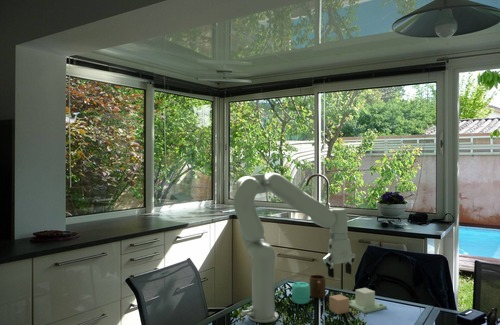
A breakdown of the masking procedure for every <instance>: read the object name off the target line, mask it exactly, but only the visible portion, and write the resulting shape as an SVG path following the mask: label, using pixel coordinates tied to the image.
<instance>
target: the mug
mask: <svg viewBox="0 0 500 325" xmlns="http://www.w3.org/2000/svg"><path fill="white" fill-rule="evenodd" d="M309 286H310V298H313V299H323V298H326V277H325V276H324V275H321V274H312V275H310V276H309Z"/></svg>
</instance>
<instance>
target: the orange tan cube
mask: <svg viewBox="0 0 500 325" xmlns="http://www.w3.org/2000/svg"><path fill="white" fill-rule="evenodd" d="M349 300H350V298H349V297H346V296H345V295H344V294H343V295H342V294H336V295H335V294H334V295H329V301H328V302H329V311H331V312H333V313H335V314H336V315H342V314H346V313H350V306H349ZM341 313H342V314H341Z"/></svg>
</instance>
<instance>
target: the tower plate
mask: <svg viewBox="0 0 500 325" xmlns="http://www.w3.org/2000/svg"><path fill="white" fill-rule="evenodd" d="M354 291H355V293H354V295H355V297H354V298H355V299H352V300H350V299H349V308H350V307H351V308H352V309H353V310H357V311H358V312H361V313H363V314H368V313H373V312H375V311H380V310H385V309H387V305H386V304H383V303H380V302H378V301H376V291H375V290H372V289H369V288H367V287H362V288H357V289H355V290H354Z"/></svg>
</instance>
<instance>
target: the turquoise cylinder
mask: <svg viewBox="0 0 500 325" xmlns="http://www.w3.org/2000/svg"><path fill="white" fill-rule="evenodd" d="M291 286H292V287H291V288H292V289H291V290H292V291H291V294H292V296H291V300H292V302H293V303H294V304H298V305H305V304H306V305H307V304H308V303H310V299H311V296H310V283H308V282H305V281H296V282H293V283H292V285H291Z"/></svg>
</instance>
